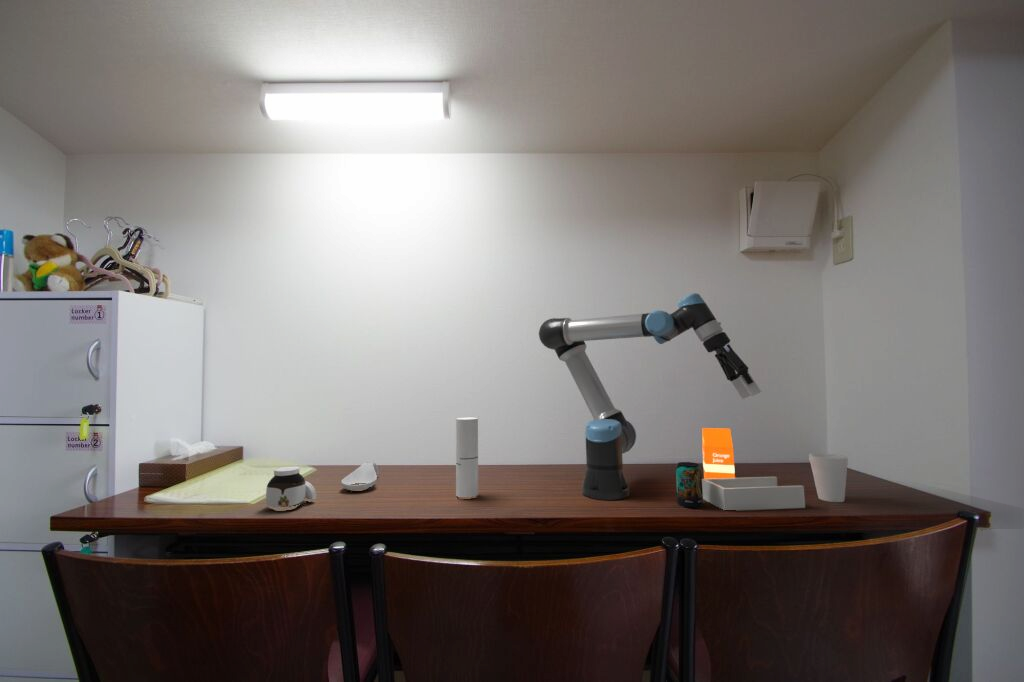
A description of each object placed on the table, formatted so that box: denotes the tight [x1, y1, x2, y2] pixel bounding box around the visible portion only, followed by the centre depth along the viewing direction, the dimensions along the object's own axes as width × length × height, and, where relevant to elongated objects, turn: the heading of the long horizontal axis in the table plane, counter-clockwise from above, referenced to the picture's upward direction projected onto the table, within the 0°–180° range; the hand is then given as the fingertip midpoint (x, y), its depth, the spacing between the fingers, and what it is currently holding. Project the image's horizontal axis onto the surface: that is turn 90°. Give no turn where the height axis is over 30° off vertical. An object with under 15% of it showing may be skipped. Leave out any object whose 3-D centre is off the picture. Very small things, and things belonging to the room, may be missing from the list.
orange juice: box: [701, 427, 736, 479], centre depth 142 cm, size 8×9×20 cm
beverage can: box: [675, 461, 704, 509], centre depth 124 cm, size 7×7×12 cm
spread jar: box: [265, 465, 317, 507], centre depth 128 cm, size 12×11×12 cm
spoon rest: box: [340, 462, 380, 490], centre depth 152 cm, size 24×12×7 cm, turn 4°
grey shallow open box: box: [702, 476, 806, 511], centre depth 125 cm, size 24×12×6 cm, turn 94°
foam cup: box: [808, 452, 849, 503], centre depth 128 cm, size 10×9×13 cm
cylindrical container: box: [455, 417, 479, 497], centre depth 136 cm, size 7×7×25 cm
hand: (751, 396), depth 129 cm, fingers open, 13 cm apart
